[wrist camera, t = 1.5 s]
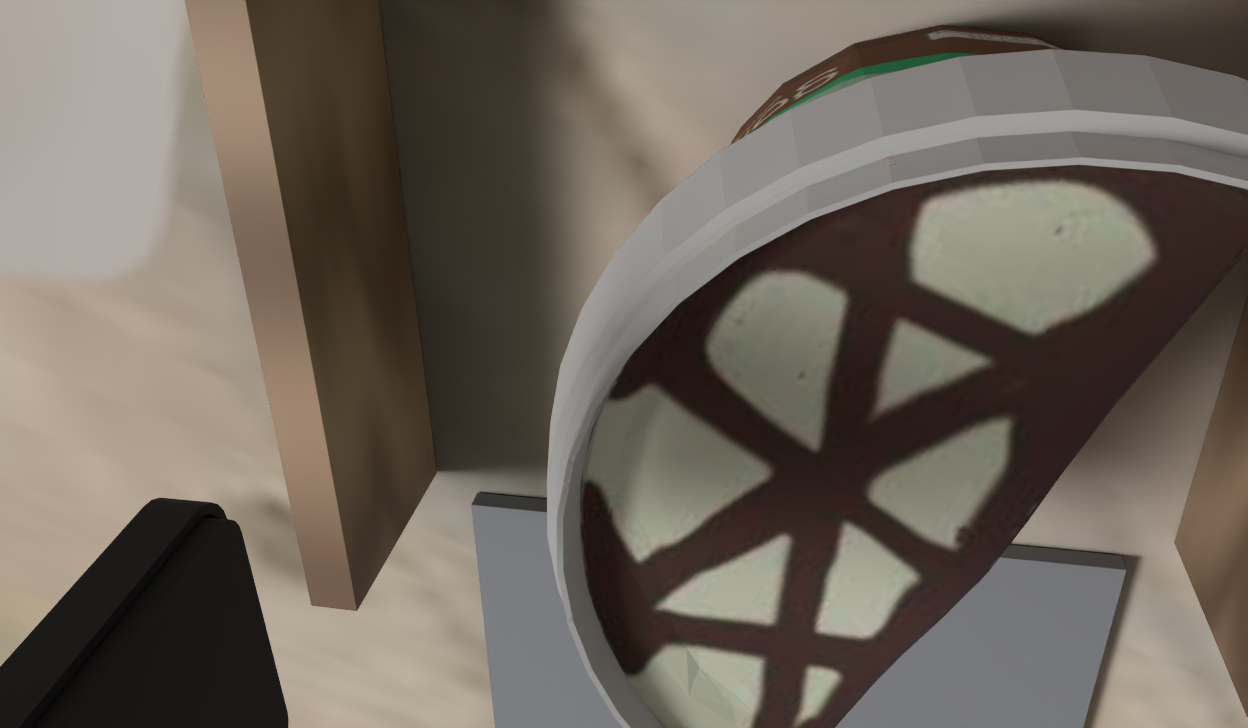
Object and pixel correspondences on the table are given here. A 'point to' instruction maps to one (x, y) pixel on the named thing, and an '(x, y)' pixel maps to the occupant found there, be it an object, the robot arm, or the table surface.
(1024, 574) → the gray mat
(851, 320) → the food container
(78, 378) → the table surface
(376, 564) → the open side box
